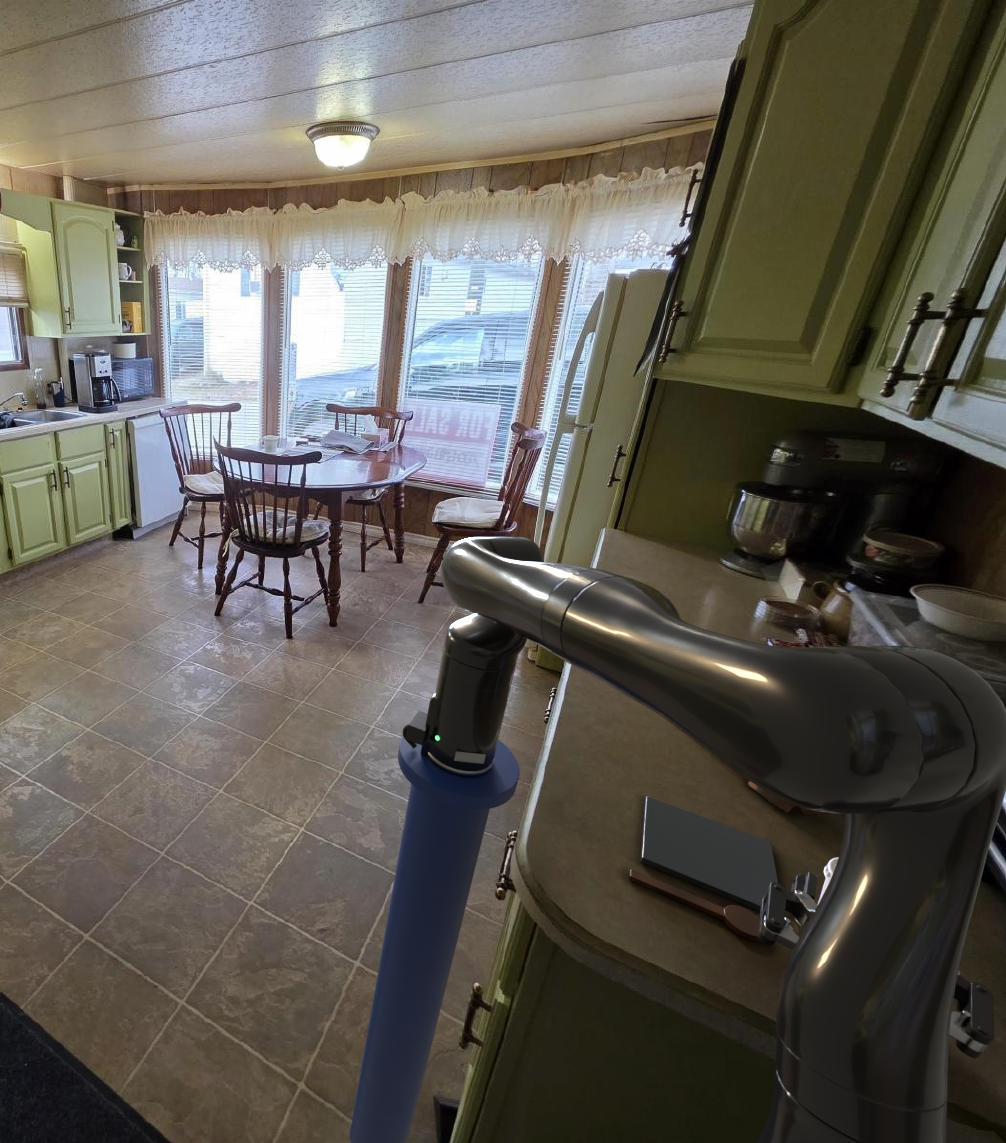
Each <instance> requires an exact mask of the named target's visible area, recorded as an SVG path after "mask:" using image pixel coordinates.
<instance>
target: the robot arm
mask: <svg viewBox="0 0 1006 1143" xmlns="http://www.w3.org/2000/svg"><path fill="white" fill-rule="evenodd" d="M440 576H441V581H442V582H441V583H442V585H443V588H444V590H445V592H446V595H448V597H449V599H450V600H451V601H452V602H453V603H454V605H456V606H457V607H458V608H460V609H462V610H463V611H466V612H469V613H472V614H470V615H467V616H465V617H463V618H460V619H457V620H455V621H454V622H452V623H451V624H450V625H449V627H448V628H447V630H446V632H445V636H444V642H443V649H442V654H441V660H440V666H439V671H438V676H437V681H436V686H435V687H436V688H435V692H434V693H433V694H432V696H431V697H430V699H429V704H428V709H427V712H424V711H421V710H417V711H416V712H415V714H414V715H413V717H412V718H411V720H410V722H409V723H407V724H406V725H404V727H403V728H402V735H403V737H404V738H405V740H406V741H407V742H408V743H409V744H410V745H411V747H412V748H415V747H417V744H419V745H422V748H421V755H423V756H426V757H427V758H428V759H429V760H430V761H431V762H432V763H433V764H434V765H435V766H436V767H438V768H439V769H441V770H443V771H445V772H447V773H449V774H452V775H455V776H459V777H466V778H475V777H480V776H483V775H486V774H487V773H489V772H490V770H491V769H492V766H493V762H494V756H495V751H496V747H497V743H498V740H499V738H500V734H501V729H502V725H503V722H504V717H505V713H506V709H507V704H508V700H509V697H510V692H511V687H512V684H513V680H514V677H515V676H514V675H515V671H516V668H517V662H518V658H519V655H520V653H521V652H522V651H523V650H524V648H525V646H526V644H527V642H528V641H531V642H532V643H534V644H537V645H538V646H540V647H542V648H544V649H545V650H547V651H548V652H549V653H551V654H552V655H554V656H555V657H557V658H559V659H561V660H562V661H564V662H566V663H567V664H569V665H571V666H572V667H574V668H576V669H578V670H580V671H581V672H583V673H585V674H587V675H589V676H591V677H593V678H595V679H597V680H599V681H601V682H603V683H605V684H606V685H608V686H610V687H611V688H613V689H615V690H616V691H618V692H620V693H621V694H623V695H625V696H626V697H628V698H630V699H631V700H633V701H635V702H637V703H638V704H641V705H642V706H644V707H646V708H647V709H649V710H651V711H653V712H654V713H656V714H657V715H658V716H660V717H662V718H663V719H664V720H666V721H667V722H669V723H670V724H672V725H673V726H675V728H677V729H678V730H680V731H681V732H683V733H684V734H685V735H687V736H688V737H689V738H690V739H692V740H694V741H695V742H696V743H697V744H699V745H700V746H701V747H702V748H704V749H705V750H706V751H708V752H709V753H711V755H713V756H714V757H716V758H717V759H718V760H720V761H721V762H723V763H724V764H725V765H727V766H728V767H729V768H730V769H732V770H734V771H735V772H736V773H738V774H739V775H740V776H742V777H744V778H745V779H746V780H748V782H749V781H751V782H752V783H754V784H755V785H757V786H759V787H760V788H762V789H763V790H765V791H767V792H768V793H770V794H772V795H774V796H776V797H778V798H780V799H782V800H784V801H787V802H789V803H792V804H794V805H796V806H797V807H800V808H801V807H803V808H806V809H810V810H815V811H821V812H829V813H833V814H836V815H837V814H839V815H844V827H843V828H844V829H843V836H842V842H841V846H840V850H839V855H838V857H839V858H838V861H837V864H836V867H835V870H834V872H833V875H832V878H831V880H830V882H829V884H828V886H827V888H826V890H825V892H824V894H823V896H822V898H821V900H820V902H819V901H818V902H819V904H818V903H816V902H815V898H816V894H817V886H818V880H819V876H818V875H816V874H814V873H812V872H810V871H808V872H807V873H806V874H803V873H799V874H796V877H795V879H794V880H793V882H792V884H791V886H790V887H791V888H790V890H787V889H786V888H785V887H784V886H783V885H782V884H780V883H779V882H778V883H775V882H772V883H770V885H769V888H768V891H767V893H766V895H765V896H764V897H763V899H762V901H761V908H760V911H759V928H758V938H759V940H758V941H760V942H761V943H763V944H764V945H766V946H769V947H774V946H775V944H776V943H778V944H780V945H782V946H784V947H786V948H788V949H790V950H791V952H790V954H789V956H788V960H787V962H786V964H785V967H784V970H783V973H782V976H781V980H780V984H779V990H778V996H777V1003H776V1021H775V1023H776V1024H775V1025H776V1034H775V1036H776V1037H775V1038H776V1042H775V1082H774V1093H773V1098H772V1102H771V1108H770V1112H769V1115H768V1117H767V1120H766V1123H765V1125H764V1127H763V1129H762V1132H761V1134H760V1136H759V1138H758V1140H757V1141H756V1143H947V1131H948V1130H947V1129H948V1126H947V1125H948V1124H947V1121H948V1077H949V1076H948V1075H949V1074H948V1071H949V1068H948V1066H949V1065H948V1064H949V1044H950V1037H951V1038H953V1039H955V1046H956V1047H957V1049H958V1050H959V1051H960V1052H961V1053H962V1054H964V1055H965V1056H967V1057H969V1058H972V1059H978V1058H979V1057H980V1056H981V1055H982V1054H983V1053H984V1051H985V1050H986V1049H987V1048H988V1047H989V1045H990V1044H991V1043H992V1042H993V1040H994V1039H995V1009H994V1008H995V1007H994V1006H995V1005H994V1004H995V1003H994V993H993V991H992V990H991V989H990V988H989V987H987V986H986V985H984V984H983V983H981V982H977V981H971V982H970V981H969V980H968V979H966V978H965V977H964V976H962V975H961V971H960V967H961V962H962V956H963V952H964V947H965V943H966V939H967V935H968V931H969V927H970V923H971V920H972V916H973V911H974V907H975V902H976V900H977V895H978V892H979V888H980V884H981V881H982V876H983V872H984V869H985V864H986V861H987V856H988V853H989V849H990V846H991V843H992V840H993V836H994V833H995V829H996V827H997V824H998V819H999V818H1000V817H999V816H1000V813H1001V810H1002V806H1003V803H1004V799H1005V796H1006V707H1005V705H1004V703H1003V701H1002V699H1001V698H1000V696H999V695H998V694H997V693H996V691H995V690H994V688H993V687H992V686H991V684H990V683H989V682H988V681H986V680H985V678H983V677H982V676H980V674H979V673H977V672H976V671H975V670H974V669H972V668H970V667H969V666H967V665H965V664H964V663H962V662H961V661H959V660H957V659H956V658H953V657H951V656H948V655H945V654H943V653H941V652H938V651H935V650H930V649H925V648H922V647H916V646H909V645H848V646H847V645H846V646H844V645H843V646H842V645H841V646H813V647H805V646H804V647H802V646H801V647H800V646H797V647H796V646H779V645H772V644H765V643H759V642H755V641H749V640H745V639H741V638H736V637H733V636H729V635H726V634H722V633H719V632H716V631H711V630H708V629H705V628H701V627H698V626H696V625H693V624H691V623H689V622H687V621H685V620H684V618H683V617H682V615H681V613H680V611H679V610H678V608H677V607H676V606H675V604H674V603H673V602H672V601H671V599H669V598H668V597H667V596H666V595H665V594H664V593H662V592H661V591H659V590H658V589H657V588H654V587H652V586H651V585H649V584H646V583H644V582H641V581H640V580H637V579H633V578H631V577H626V576H623V575H620V574H617V573H613V572H611V571H607V570H603V569H600V568H597V567H596V568H595V567H590V566H583V565H576V564H568V563H559V562H545V560H544V555H543V552H542V550H541V548H540V546H539V545H538V544H537V543H536V542H535V541H534V540H532V539H530V538H528V537H527V538H526V537H523V536H522V537H521V536H473V537H468V538H464V539H461V540H458V541H456V542H454V543H453V544H452V545H451V546H449V548H448V549H447V551H446V552H445V553H444V555H443V558H442V561H441V566H440ZM416 743H417V744H416ZM786 914H787V915H788V917H789V918H790V919H789V918H788V917H786ZM792 922H793V923H794V924H795V926H796V927H797V929H798V934H799V935H798V934H796V932H795V931H794V928H793V926H792V925H791V924H792ZM954 999H955V1000H956V1010H953V1004H954V1003H953V1002H954ZM952 1010H953V1011H952Z"/></svg>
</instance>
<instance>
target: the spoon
mask: <svg viewBox="0 0 1006 1143" xmlns="http://www.w3.org/2000/svg"><path fill="white" fill-rule="evenodd" d="M628 880H629V881H631V882H633V883H636V884H638V885H641V886H642V887H646V888H648V889H650V890H653V891H655V892H657V893H660V894H662V895H664V896H666V897H669V898H671V899H673V900H675V901H678V902H679V903H682V904H684V905H687V906H689V907H692V908H694V909H696V910H699V911H701V912H704V913H706V914H708V915H710V916H713V917H715V918H717V919H719V920H722V921H723V922H724V923H725V925H726V926H727V927H728V928H729V929H730V930H731V931H733V932H734V933H735V934H737V935H738V936H740V937H742V938H744V939H746V940H749V941H754V942H755V941H760V940H759V938H758V928H759V918H760V916H758V915H757V914H756V913H754V912H752V911H751V910H749V909H747V908H745V907H743V906H741V905H737V904H736V905H735V904H729V905H727V906H725V907H722V906H720V905H718V904H715V903H713V902H710V901H708V900H706V899H704V898H702V897H699V896H696V895H694V894H692V893H689V892H687V891H684V890H682V889H680V888H678V887H675V886H673V885H670V884H668V883H666V882H664V881H661V880H658V879H656V878H653V877H651V876H649V875H647V874H644V873H642V872H640V871H637V870H635V869H632V868H630V870H629V872H628Z"/></svg>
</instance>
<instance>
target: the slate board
mask: <svg viewBox="0 0 1006 1143" xmlns="http://www.w3.org/2000/svg"><path fill="white" fill-rule="evenodd" d="M642 821H643V822H642V836H641V837H642V838H641V849H640V850H641V851H640V863H642V864H644V865H646V866H649V867H651V868H654V869H656V870H658V871H660V872H664V873H666V874H668V875H670V876H673V877H676V878H678V879H681V880H683V881H685V882H687V883H690V884H692V885H695V886H697V887H699V888H702V889H705V890H707V891H710V892H712V893H715V894H716V895H718V896H721V897H723V898H727V899H729V900H730V901H734V902H736V903H738V904H741V905H743V906H746V907H748V908H750V909H752V910H754V911H757V912H760V908H761V901H762V899H763V897H764V896H765V895H766V893H767V891H768V888H769V885H770V883H772V882H775V883H778V884H779V880H778V875H777V869H776V864H775V858H774V853H773V852H774V851H773V847H772V842H771V841H769V840H767V839H764V838H762V837H759V836H756V835H753V834H751V833H748V832H745V831H742V830H740V829H737V828H735V827H732V826H728V825H726V824H723V823H722V822H721V823H720V822H719V821H715V820H713V819H709V818H707V817H705V816H701V815H698V814H697V813H694V812H690V811H688V810H686V809H682V808H680V807H677V806H674V805H671V804H669V803H666V802H663V801H660V800H658V799H655V798H652V797H650V796H645V800H644V808H643V820H642Z"/></svg>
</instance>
